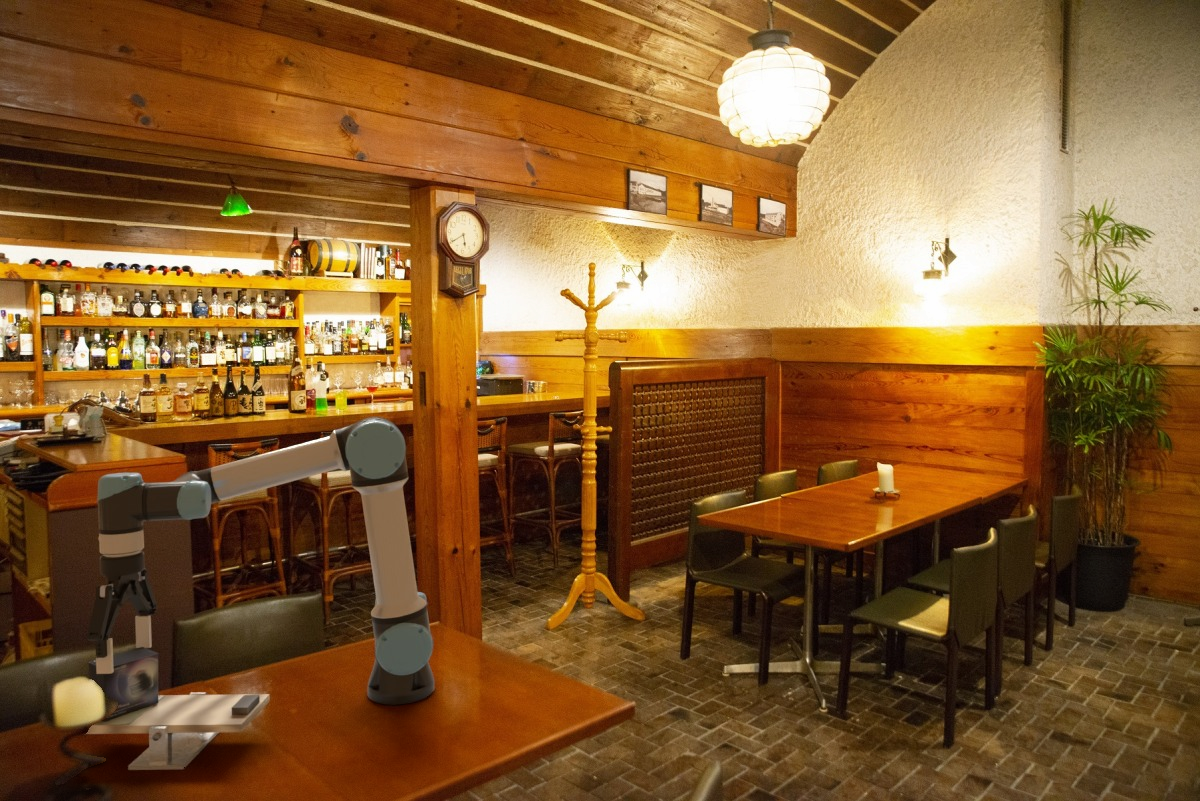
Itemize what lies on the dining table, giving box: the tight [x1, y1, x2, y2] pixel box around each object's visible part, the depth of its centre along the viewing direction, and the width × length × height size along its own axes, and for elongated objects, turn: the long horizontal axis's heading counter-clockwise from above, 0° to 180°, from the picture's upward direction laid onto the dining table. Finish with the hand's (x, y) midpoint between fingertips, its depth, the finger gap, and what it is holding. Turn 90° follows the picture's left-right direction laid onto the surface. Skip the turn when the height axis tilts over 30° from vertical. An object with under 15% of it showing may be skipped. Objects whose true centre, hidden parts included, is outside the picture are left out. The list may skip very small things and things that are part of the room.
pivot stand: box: [127, 691, 220, 771], centre depth 156 cm, size 10×18×8 cm, turn 2°
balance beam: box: [85, 693, 271, 735], centre depth 156 cm, size 30×14×3 cm, turn 92°
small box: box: [87, 647, 159, 721], centre depth 156 cm, size 11×6×10 cm, turn 148°
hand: (125, 659), depth 156 cm, fingers open, 13 cm apart
